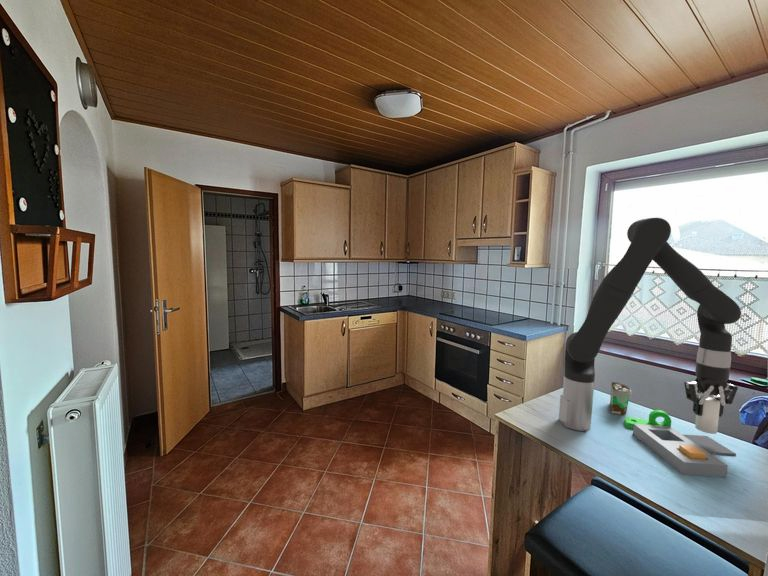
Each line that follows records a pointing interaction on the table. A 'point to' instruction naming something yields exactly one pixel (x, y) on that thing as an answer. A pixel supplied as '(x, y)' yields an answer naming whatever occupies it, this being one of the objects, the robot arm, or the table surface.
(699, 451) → the orange cube
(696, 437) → the mat
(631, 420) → the mechanical part
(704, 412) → the white upright cylinder
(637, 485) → the table surface
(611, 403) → the food container
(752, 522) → the table surface
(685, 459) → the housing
